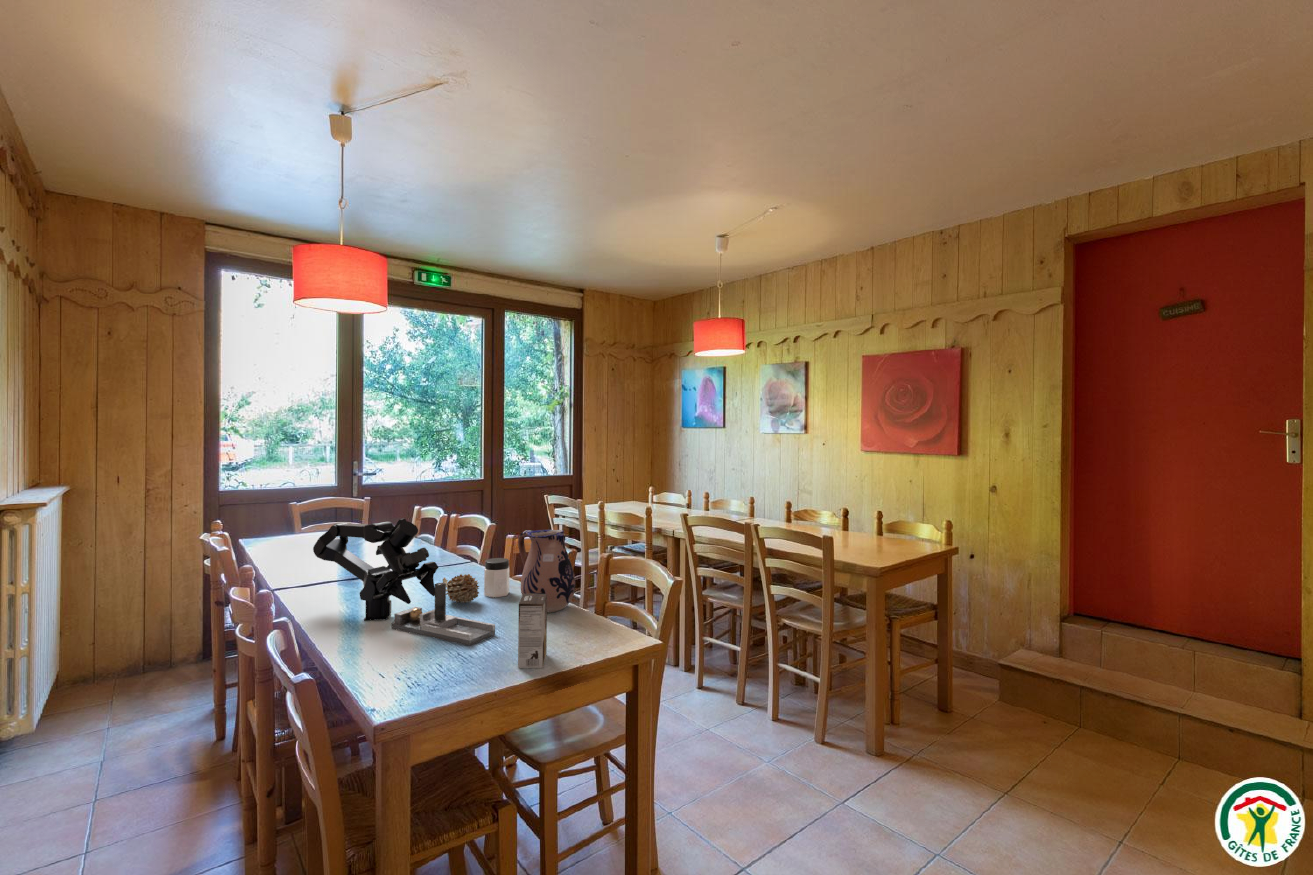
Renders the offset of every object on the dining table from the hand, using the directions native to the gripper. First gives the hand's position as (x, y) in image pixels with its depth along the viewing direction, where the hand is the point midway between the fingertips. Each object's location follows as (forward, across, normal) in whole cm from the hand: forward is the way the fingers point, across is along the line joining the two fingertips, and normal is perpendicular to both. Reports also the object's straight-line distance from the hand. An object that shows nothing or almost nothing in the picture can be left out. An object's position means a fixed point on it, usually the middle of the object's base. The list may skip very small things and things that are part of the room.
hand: (422, 599), depth 179 cm
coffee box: (+37, -6, -26) cm, 46 cm away
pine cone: (-2, +25, +14) cm, 29 cm away
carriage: (+9, 0, 0) cm, 9 cm away
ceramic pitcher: (+20, +32, -8) cm, 38 cm away
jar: (+3, +38, +10) cm, 39 cm away
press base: (+12, 0, 0) cm, 12 cm away
